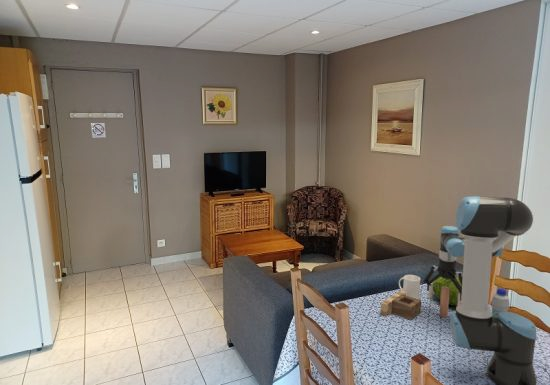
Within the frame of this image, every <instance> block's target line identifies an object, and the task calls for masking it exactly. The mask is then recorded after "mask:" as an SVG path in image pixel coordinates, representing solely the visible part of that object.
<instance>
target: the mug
mask: <svg viewBox="0 0 550 385" xmlns="http://www.w3.org/2000/svg"><path fill="white" fill-rule="evenodd" d="M402 280H403V286H402V287H401V281H402ZM398 287H399V289H400V291H403V292H406V296H409V297H412V298H415V299H418V300H420V291H421V290H420V289H421V277H420V276H418V275H416V274H415V275H414V274H406V275H403V277H401V278H399V280H398Z"/></svg>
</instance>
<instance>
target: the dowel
mask: <svg viewBox="0 0 550 385" xmlns="http://www.w3.org/2000/svg"><path fill="white" fill-rule="evenodd" d="M449 291H450V288H449V287H445V286H443V287H441V299H439V300H440V302H439V314H438V316H439V317H440V318H443V319H446V318H448V316H449V315H448V314H449V305H450V304H449Z"/></svg>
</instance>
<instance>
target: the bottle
mask: <svg viewBox="0 0 550 385" xmlns="http://www.w3.org/2000/svg"><path fill="white" fill-rule="evenodd" d="M496 291H497V292H496V293H494V294H493V296H492V299H491V312H492V314H493V316H492V317H497V315H498V313H499V312H509V309H510V298H509V296H508V295H507V291H506V289H504V288H498V289H497V290H496Z"/></svg>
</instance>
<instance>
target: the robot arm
mask: <svg viewBox="0 0 550 385" xmlns="http://www.w3.org/2000/svg"><path fill="white" fill-rule="evenodd" d="M533 221H534V216H533V213H532V211H531V209H530V208H529V206H527V204H525V203H524V202H523V201H521V200H518V199H516V198H513V197H496V196H495V197H494V196H492V197H491V196H479V195H477V196H465V197H463V198H462V199H461V200H460V201H459V203H458V206H457V210H456V215H455V226H451V225H443V226H442V227H441V231H440V242H439V254H438V258H439V259H438V266H436V265H434V264H433V265H432V266H431V267H430V271H429V272H428V274H427V275H426V277H425V278H424V280H423V284H424V283H425V284H426V291H427V292H428V294H427V295H428V296H427V298H428V299H431V298H433V292H432V291H433V284H432V282H434V281H435V280H436V279H438V278H439V277H440V276H441V277H442V278H446V279H448V280H449V279H450V280H451V281H452V282H453V283H454V285H455V286H456V288H457V289H458V291H459V292H460V293H459V294H458V305H457V306H455V307H456V308H455V312H452V313H451V312H450V314H449V326H450V327H449V328H450V332H451V337H452V340H453V343H454V344H455V345H456V346H457V347H458V348H461V349H466V350H467V349H468V350H469V351H470V350H477V351H486V352H492V353H493V352H494V353H493V355H492V356H491V359H490V360H489V362H488V364H487V366H486V375H487V378H488V379H489V380H490V381H491V382H492V383H494V384H495V385H537V376H536V373H535V369H534V364H533V362H534V355H535V346H536V340H537V327H536V324H535V323H534V322H533V321H531V320H530V319H529V318H527V317H525V316H523V315H520V314H518V313H515V312H511V311H508V312H499V313H498V315H497V317H492V316H493V314H492V310H490V309H489V300H490V286H491V285H490V283H491V269H492V258H494V257H495V258H498V257H501V256H502V255H503V251H504V246H505V245H506V244H508V243H509V242H511V241H512V240H513V239H515V237H519V236H522V235H524V234H526V233H527V232H528V231H530V229H531V228H532V226H533V223H534V222H533ZM460 235H461V237H459V236H460ZM460 257H463V267H462V271H457V258H460ZM436 271H437V272H438V274H437V275H435V276H433V274H434V273H435V272H436ZM455 275H457V276H458V277H459V281H460V283H461V285H460V284H459V282H458V281H457V278H456V277H455ZM432 276H433V278H432V279H431V277H432ZM461 286H462V287H461Z"/></svg>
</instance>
